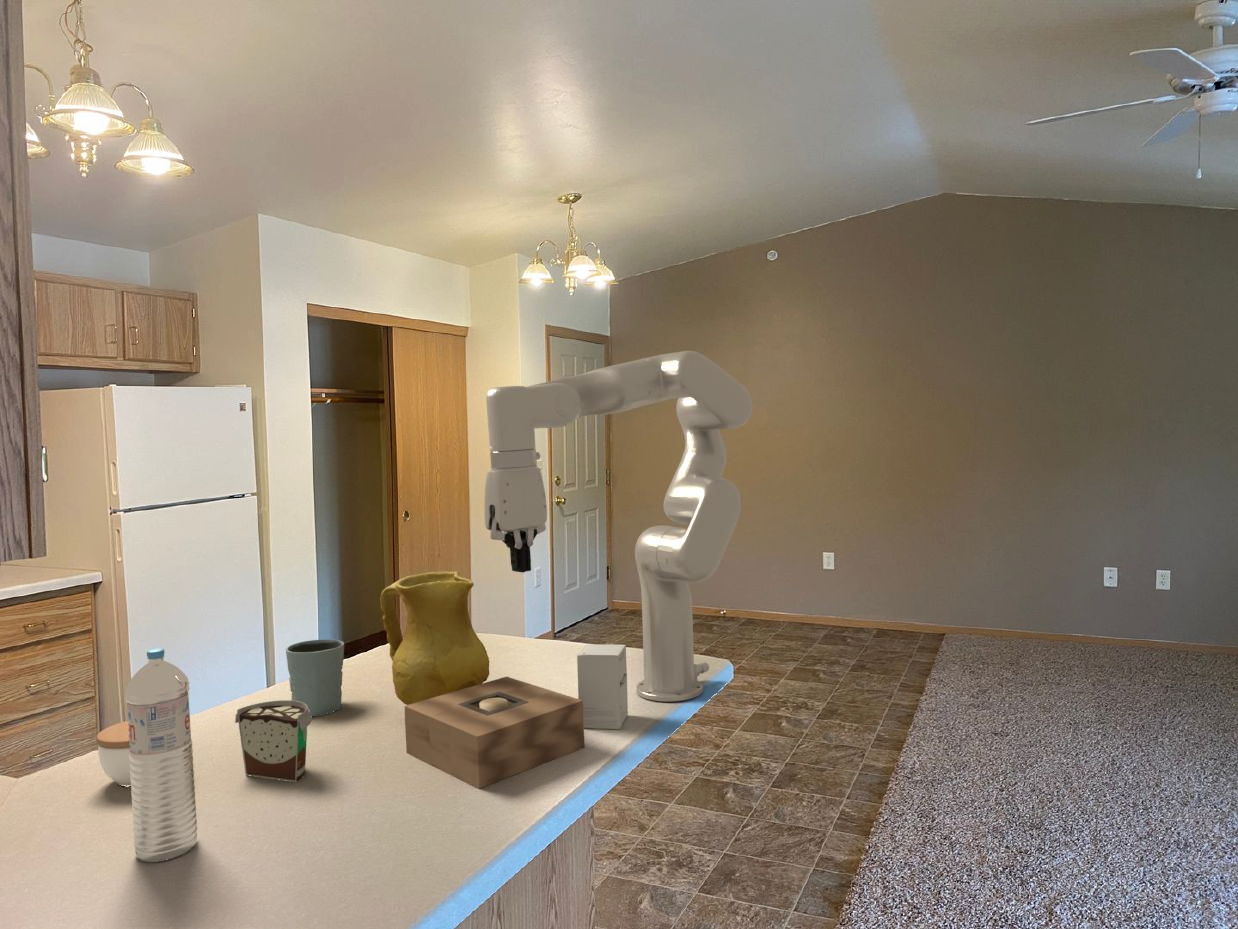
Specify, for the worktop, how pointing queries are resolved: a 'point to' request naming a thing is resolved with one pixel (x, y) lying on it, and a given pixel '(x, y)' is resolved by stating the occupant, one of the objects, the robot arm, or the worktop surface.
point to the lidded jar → (115, 752)
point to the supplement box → (603, 685)
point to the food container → (274, 739)
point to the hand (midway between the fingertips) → (521, 570)
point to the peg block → (494, 730)
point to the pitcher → (433, 637)
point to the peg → (493, 704)
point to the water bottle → (161, 760)
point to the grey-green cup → (316, 674)
